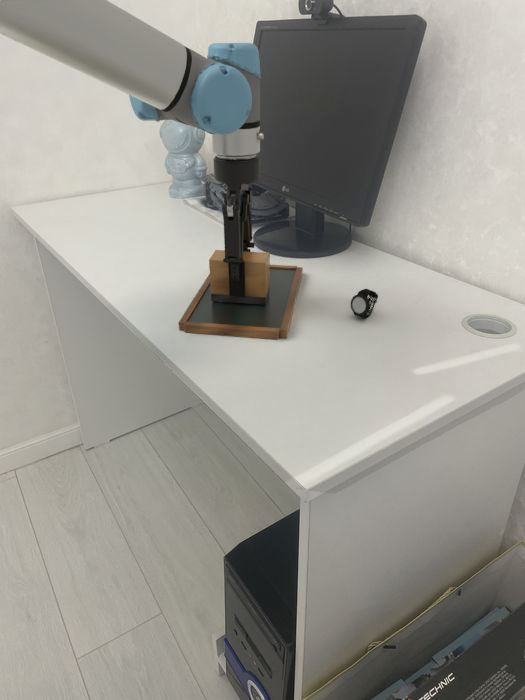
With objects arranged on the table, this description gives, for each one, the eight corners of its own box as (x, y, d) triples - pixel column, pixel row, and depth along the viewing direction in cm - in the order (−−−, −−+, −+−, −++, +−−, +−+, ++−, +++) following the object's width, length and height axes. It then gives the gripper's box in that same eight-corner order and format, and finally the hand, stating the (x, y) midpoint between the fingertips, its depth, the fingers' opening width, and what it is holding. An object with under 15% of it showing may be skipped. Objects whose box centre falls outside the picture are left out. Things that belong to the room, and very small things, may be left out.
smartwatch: (346, 314, 92) (348, 289, 90) (371, 309, 94) (374, 284, 91) (358, 324, 89) (361, 298, 86) (384, 319, 91) (387, 293, 88)
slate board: (178, 332, 87) (177, 324, 86) (217, 268, 111) (217, 261, 110) (286, 340, 85) (286, 332, 84) (302, 273, 109) (302, 266, 108)
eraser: (211, 301, 94) (208, 259, 90) (217, 289, 98) (215, 249, 94) (265, 305, 93) (265, 262, 88) (269, 293, 97) (269, 252, 93)
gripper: (250, 167, 74) (252, 312, 86) (268, 145, 89) (268, 271, 102) (199, 166, 75) (208, 309, 87) (226, 144, 90) (230, 268, 103)
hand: (240, 288), depth 94 cm, fingers closed on eraser, 5 cm apart
